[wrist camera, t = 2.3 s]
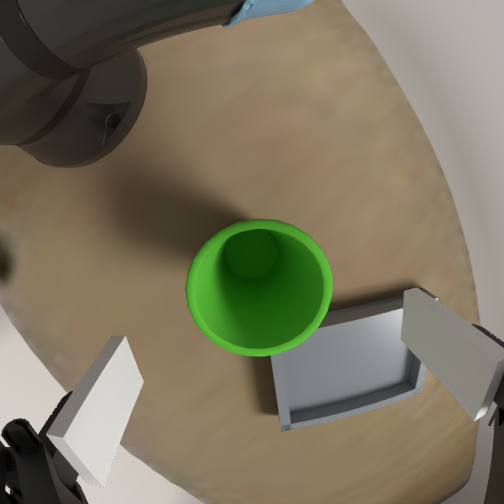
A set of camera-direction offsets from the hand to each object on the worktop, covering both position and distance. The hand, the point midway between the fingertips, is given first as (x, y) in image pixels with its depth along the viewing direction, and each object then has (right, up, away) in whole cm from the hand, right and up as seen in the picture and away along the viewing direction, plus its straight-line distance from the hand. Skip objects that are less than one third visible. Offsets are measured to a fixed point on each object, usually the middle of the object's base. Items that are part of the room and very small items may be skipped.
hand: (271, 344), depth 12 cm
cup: (-1, +4, +16) cm, 16 cm away
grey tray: (+11, -9, +19) cm, 24 cm away
